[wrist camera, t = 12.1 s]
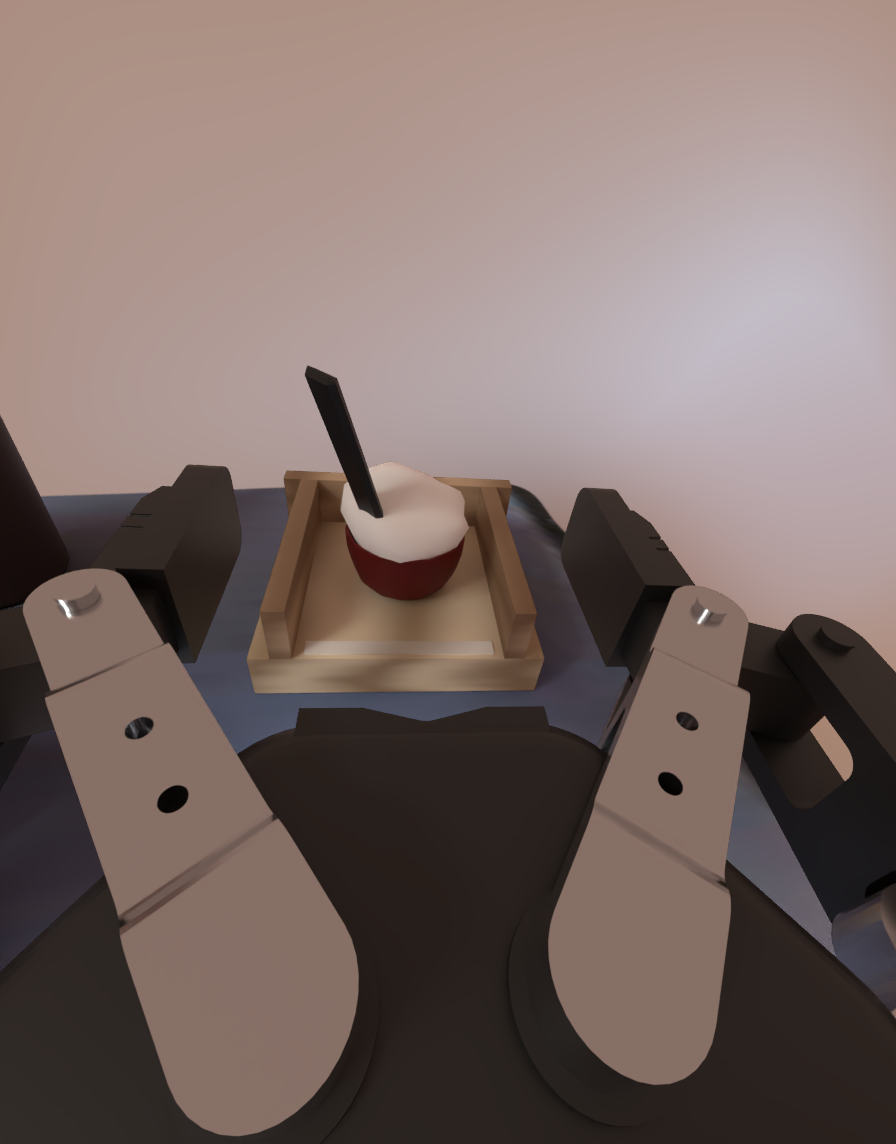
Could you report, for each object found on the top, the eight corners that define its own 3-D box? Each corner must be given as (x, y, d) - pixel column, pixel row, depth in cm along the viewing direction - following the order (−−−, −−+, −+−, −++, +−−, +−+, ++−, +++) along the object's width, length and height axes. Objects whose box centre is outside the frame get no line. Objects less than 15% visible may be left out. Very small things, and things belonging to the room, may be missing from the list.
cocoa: (443, 540, 31) (469, 340, 24) (494, 598, 27) (543, 374, 20) (295, 567, 27) (275, 336, 20) (327, 640, 23) (316, 378, 16)
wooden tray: (255, 693, 24) (234, 611, 20) (295, 543, 33) (286, 470, 30) (534, 690, 25) (558, 614, 22) (495, 548, 35) (508, 480, 32)
